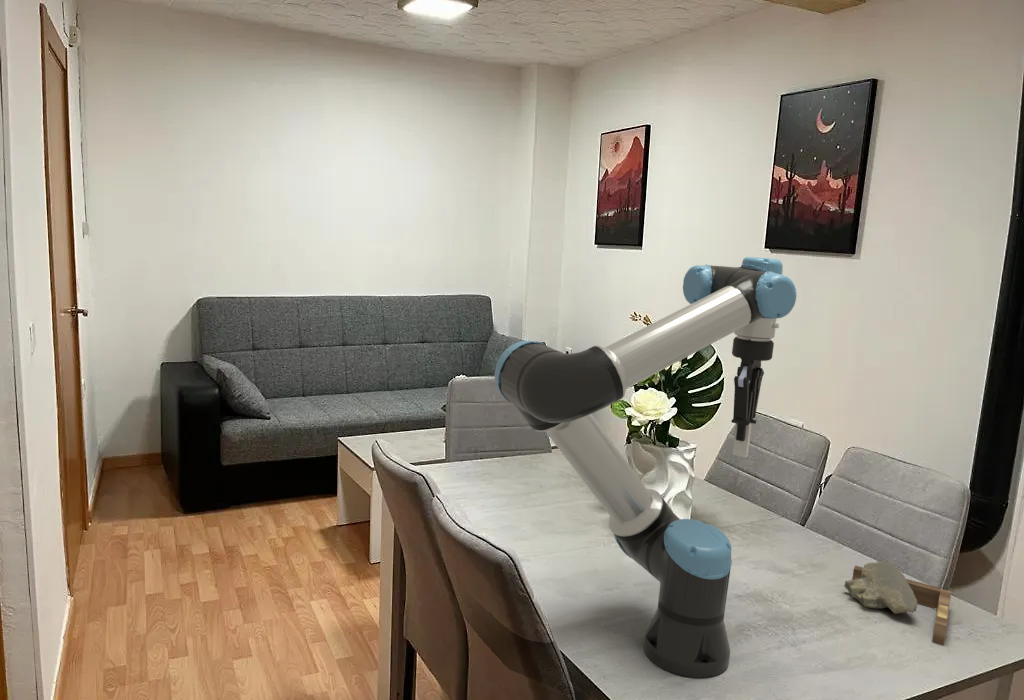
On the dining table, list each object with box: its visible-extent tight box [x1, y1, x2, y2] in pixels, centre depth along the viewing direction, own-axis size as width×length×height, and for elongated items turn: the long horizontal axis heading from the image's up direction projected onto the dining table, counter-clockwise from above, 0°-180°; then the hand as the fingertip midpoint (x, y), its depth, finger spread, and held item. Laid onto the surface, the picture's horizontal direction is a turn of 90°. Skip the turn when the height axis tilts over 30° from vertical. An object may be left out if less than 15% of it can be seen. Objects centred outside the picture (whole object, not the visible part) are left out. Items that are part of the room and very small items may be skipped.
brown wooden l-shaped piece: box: [851, 565, 952, 646], centre depth 161 cm, size 18×19×4 cm
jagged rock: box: [843, 560, 918, 615], centre depth 162 cm, size 14×10×10 cm
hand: (739, 455), depth 153 cm, fingers closed
